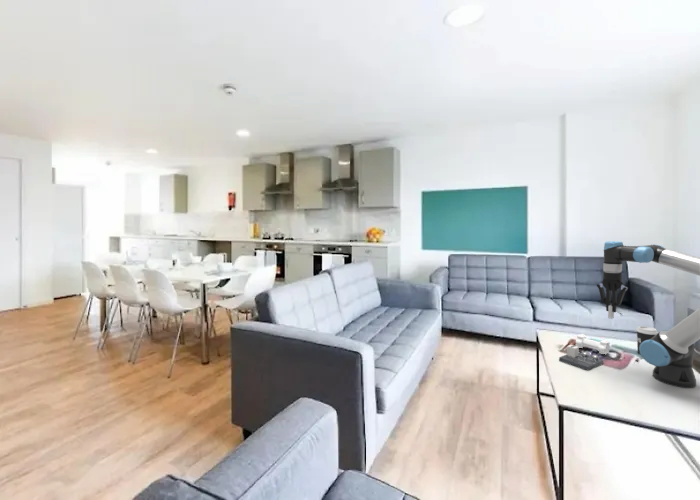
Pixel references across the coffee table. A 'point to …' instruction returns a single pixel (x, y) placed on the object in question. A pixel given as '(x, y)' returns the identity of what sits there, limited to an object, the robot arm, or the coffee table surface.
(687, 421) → the coffee table surface
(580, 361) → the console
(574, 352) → the block
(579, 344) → the bone shaped toy
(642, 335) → the coffee cup
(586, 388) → the coffee table surface
